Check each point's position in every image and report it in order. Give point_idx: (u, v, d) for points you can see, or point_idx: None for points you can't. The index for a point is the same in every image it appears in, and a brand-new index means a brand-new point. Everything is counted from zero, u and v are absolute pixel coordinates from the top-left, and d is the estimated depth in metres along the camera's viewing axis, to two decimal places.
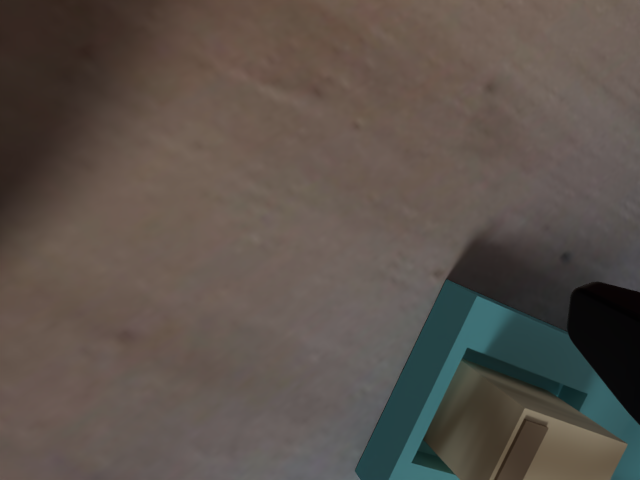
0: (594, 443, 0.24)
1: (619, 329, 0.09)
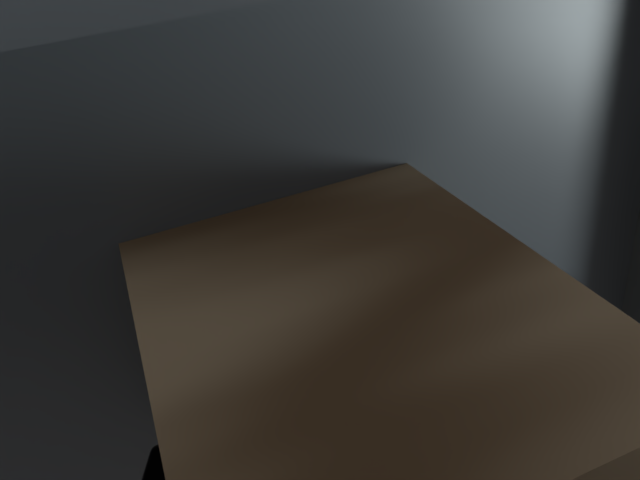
0: None
1: None
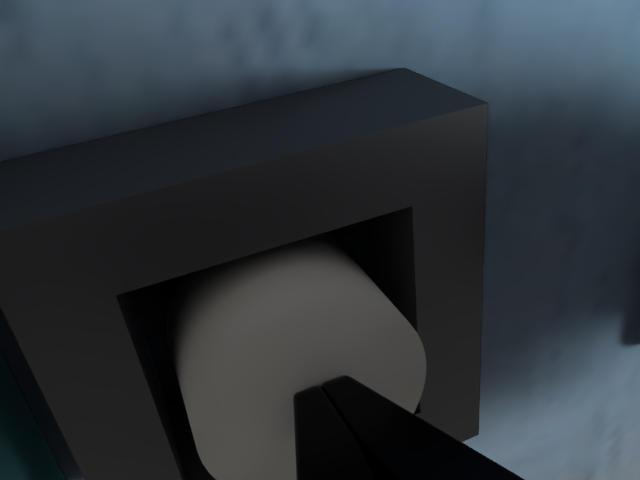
0: None
1: None
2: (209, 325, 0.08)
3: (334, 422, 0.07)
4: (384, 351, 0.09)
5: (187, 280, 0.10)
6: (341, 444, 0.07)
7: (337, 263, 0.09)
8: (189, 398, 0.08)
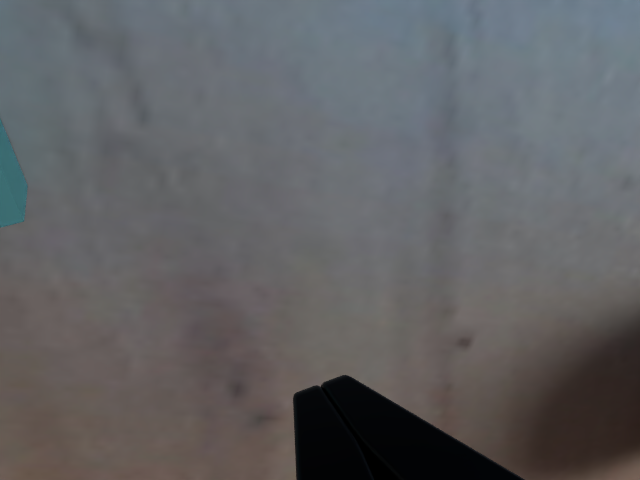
0: None
1: None
2: None
3: (335, 421, 0.07)
4: None
5: None
6: (341, 444, 0.07)
7: None
8: None
